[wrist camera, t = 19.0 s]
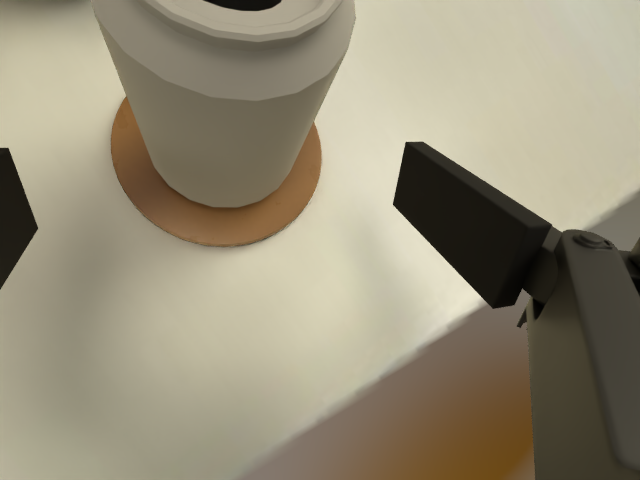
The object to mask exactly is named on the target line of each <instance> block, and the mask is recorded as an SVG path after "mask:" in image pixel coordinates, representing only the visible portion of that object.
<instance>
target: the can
mask: <svg viewBox="0 0 640 480" xmlns="http://www.w3.org/2000/svg"><path fill="white" fill-rule="evenodd" d="M90 1H91V4H92V7H93V10H94V13H95V16H96V18H97V21H98V23H99V26H100V29H101V31H102V34H103V36H104V39H105V41H106V44H107V47H108V49H109V52H110V54H111V57H112V60H113V62H114V65H115V67H116V70H117V72H118V75H119V78H120V80H121V83H122V85H123V88H124V91H125V93H126V96H127V98H128V101H129V103H130V106H131V109H132V111H133V114H134V116H135V119H136V121H137V124H138V127H139V129H140V132H141V134H142V137H143V140H144V142H145V145H146V147H147V150H148V152H149V155H150V158H151V160H152V163H153V165H154V168H155V169H156V170H157V171H158V173H159V174H160V175H161V176H162V178H163V179H164V180H165V181H166V183H167V184H168V185H169V186H170V187H171V188H173V189H174V190H176V191H177V192H179V193H180V194H182V195H183V196H185V197H186V198H188V199H189V200H192V201H195V202H198V203H201V204H205V205H208V206H211V207H234V208H238V207H241V206H245V205H248V204H252V203H255V202H258V201H261V200H262V199H264V198H265V197H267V196H268V195H269V194H271V193H272V192H274V191H275V190H277V189H278V188H279V186H280V185H281V184H282V182H283V181H284V180H285V178H286V177H287V175H288V174H289V173H290V171H291V169H292V167H293V165H294V162H295V160H296V158H297V156H298V154H299V152H300V150H301V147H302V145H303V143H304V141H305V139H306V137H307V135H308V133H309V130H310V128H311V126H312V124H313V122H314V120H315V118H316V115H317V113H318V111H319V109H320V107H321V105H322V103H323V101H324V98H325V96H326V94H327V92H328V90H329V88H330V86H331V84H332V81H333V79H334V77H335V75H336V73H337V71H338V69H339V66H340V64H341V62H342V60H343V58H344V56H345V54H346V52H347V49H348V46H349V42H350V39H351V35H352V31H353V27H354V24H355V20H356V15H355V5H354V0H90Z"/></svg>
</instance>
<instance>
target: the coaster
mask: <svg viewBox="0 0 640 480" xmlns="http://www.w3.org/2000/svg"><path fill="white" fill-rule="evenodd" d="M111 154H112V160H113V165H114V168H115V171H116V174H117V177H118V180H119V182H120V184H121V186H122V188H123V190H124V191H125V193H126V194H127V196H128V197H129V198H130V200H131V201H132V203H133V204H134V205H135V206H136V208H137V209H138V210H139V211H140V212H141V213H142V214H143V215H144V216H145V217H146V218H148V219H149V220H150V221H151V222H152V223H154V224H155V225H156V226H158V227H160V228H161V229H163V230H164V231H166V232H168V233H170V234H172V235H174V236H176V237H178V238H181V239H184V240H187V241H190V242H193V243H197V244H203V245H208V246H222V247H225V246H239V245H244V244H249V243H253V242H256V241H259V240H262V239H265V238H267V237H269V236H271V235H273V234H275V233H277V232H279V231H280V230H282V229H283V228H285V227H286V226H287V225H289V224H290V223H291V222H292V221H293V220H294V219H295V218H296V217H297V216H298V215H299V214H300V213H301V212H302V210H303V209H304V208H305V206H306V205H307V203H308V202H309V200H310V199H311V197H312V195H313V193H314V191H315V188H316V186H317V183H318V179H319V176H320V170H321V145H320V139H319V135H318V132H317V128H316V126H315V123H314V122H313V124H312V126H311V128H310V130H309V133H308V135H307V137H306V139H305V141H304V143H303V145H302V147H301V150H300V152H299V154H298V156H297V158H296V160H295V162H294V165H293V167H292V169H291V171H290V173H289V174H288V175H287V177H286V178H285V180H284V181H283V182H282V184H281V185H280V186H279V188H278V189H277V190H275V191H274V192H272V193H271V194H269V195H268V196H267V197H265V198H264V199H262V200H261V201H258V202H255V203H252V204H248V205H245V206H241V207H238V208H234V207H211V206H208V205H205V204H201V203H198V202H195V201H192V200H189V199H188V198H186V197H185V196H183V195H182V194H180V193H179V192H177V191H176V190H174V189H173V188H171V187H170V186H169V185H168V184H167V183H166V181H165V180H164V179H163V178H162V176H161V175H160V174H159V173H158V171H157V170H156V169H155V168H154V165H153V163H152V160H151V158H150V155H149V152H148V150H147V147H146V145H145V142H144V140H143V137H142V134H141V132H140V129H139V127H138V124H137V121H136V119H135V116H134V114H133V111H132V109H131V106H130V103H129V101H128V98H127V96H126V97H125V99H124V100H123V102H122V104H121V106H120V108H119V110H118V112H117V114H116V117H115V120H114V124H113V128H112V135H111Z"/></svg>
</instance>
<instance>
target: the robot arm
mask: <svg viewBox="0 0 640 480" xmlns="http://www.w3.org/2000/svg"><path fill="white" fill-rule="evenodd" d="M393 205H394V206H395V207H396V209H397V210H398V211H399V212H400V213H401V214H402V215H403V216H404V217H405V218H406V219H407V220H408V221H409V222H410V223H411V224H412V225H413V226H414V227H415V228H416V229H417V230H418V231H419V232H420V233H421V235H422V236H423V237H424V238H425V239H426V240H427V241H428V242H429V243H430V244H431V245H432V246H433V247H434V248H435V249H436V250H437V251H438V252H439V253H440V254H441V255H442V256H443V257H444V258H445V259H446V260H447V262H448V263H449V264H450V265H451V266H452V267H453V268H454V269H455V270H456V271H457V272H458V273H459V274H460V275H461V276H462V277H463V278H464V279H465V280H466V281H467V282H468V283H469V284H470V285H471V286H472V288H473V289H474V290H475V291H476V292H477V293H478V294H479V295H480V296H481V297H482V298H483V299H484V300H485V301H486V302H487V303H488V304H489V305H490V306H491V307H492V308H493V309H494V308H500V307H506V306H512V305H514V304H515V303H516V300H517V298H518V296H519V294H520V292H521V290H522V288H523V289H524V290H525V291H526V292H527V293H528V294H529V295H531V297H530V299H529V301H528V303H527V305H526V307H525V309H524V311H523V313H522V315H521V317H520V319H519V321H518V325H517V327H520V328H521V326H522V324H523V323H525V322H527V333H528V352H529V370H530V389H531V408H532V425H533V444H534V463H535V480H640V238H639V240H638V241H637V243H636V244H635V246H634V248H633V249H632V251H631V252H630V251H620V250H618V249H617V248H616V247H615V246H614V244H612V243H611V242H610V241H609V240H607V239H605V238H603V237H600V236H599V235H597V234H594V233H591V232H587V231H582V230H576V229H574V230H566V231H563V233H562V232H560V231H559V230H557V229H556V228H554V227H553V226H552V224H550V223H549V222H547V221H546V220H544V219H542V218H541V217H539V216H538V215H536V214H535V213H533V212H532V211H530V210H528V209H527V208H525V207H524V206H522V205H521V204H519V203H517V202H516V201H514V200H513V199H511V198H510V197H508V196H507V195H505V194H503V193H502V192H500V191H499V190H497V189H496V188H494V187H493V186H491V185H489V184H488V183H486V182H485V181H483V180H482V179H480V178H479V177H477V176H475V175H474V174H472V173H471V172H469V171H468V170H466V169H464V168H463V167H461V166H460V165H458V164H457V163H455V162H454V161H452V160H450V159H449V158H447V157H446V156H444V155H443V154H441V153H440V152H438V151H436V150H435V149H433V148H432V147H430V146H429V145H427V144H425V143H424V142H406V143H405V148H404V153H403V158H402V163H401V168H400V173H399V177H398V182H397V187H396V192H395V197H394V202H393ZM37 230H38V227H37V224H36V221H35V218H34V216H33V213H32V210H31V208H30V205H29V202H28V199H27V197H26V194H25V191H24V189H23V186H22V183H21V181H20V178H19V175H18V172H17V170H16V167H15V164H14V162H13V159H12V156H11V153H10V151H9V148H0V289H1V287H2V286H3V284H4V283H5V281H6V279H7V278H8V276H9V275H10V273H11V271H12V270H13V268H14V267H15V265H16V263H17V262H18V260H19V259H20V257H21V255H22V254H23V252H24V250H25V249H26V247H27V246H28V244H29V242H30V241H31V239H32V238H33V236H34V234H35V233H36V231H37Z"/></svg>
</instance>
